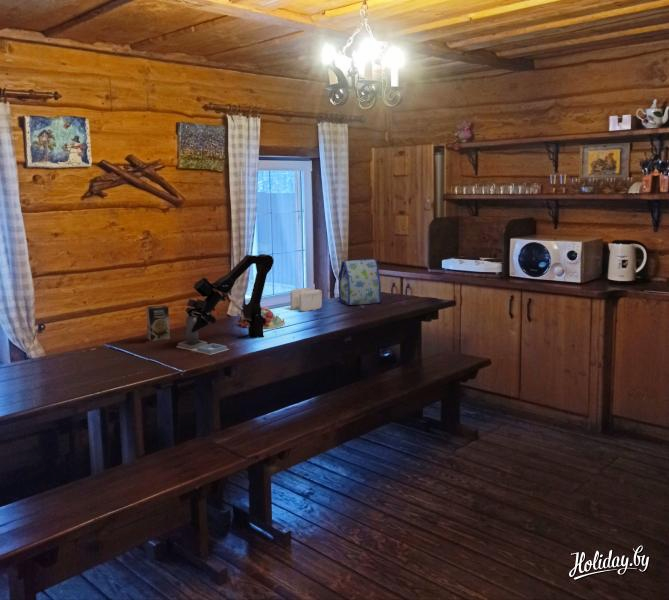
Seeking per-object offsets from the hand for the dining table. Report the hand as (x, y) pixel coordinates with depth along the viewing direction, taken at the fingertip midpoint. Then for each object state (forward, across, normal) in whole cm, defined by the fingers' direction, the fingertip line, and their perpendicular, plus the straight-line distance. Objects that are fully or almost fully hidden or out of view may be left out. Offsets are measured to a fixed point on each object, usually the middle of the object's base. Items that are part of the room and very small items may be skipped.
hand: (189, 330), depth 300 cm
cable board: (+4, +6, +8) cm, 11 cm away
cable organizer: (-59, -35, +71) cm, 99 cm away
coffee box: (+8, -24, +3) cm, 25 cm away
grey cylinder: (+3, 0, +5) cm, 6 cm away
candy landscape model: (-31, -21, +43) cm, 57 cm away
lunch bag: (-84, -29, +96) cm, 131 cm away
